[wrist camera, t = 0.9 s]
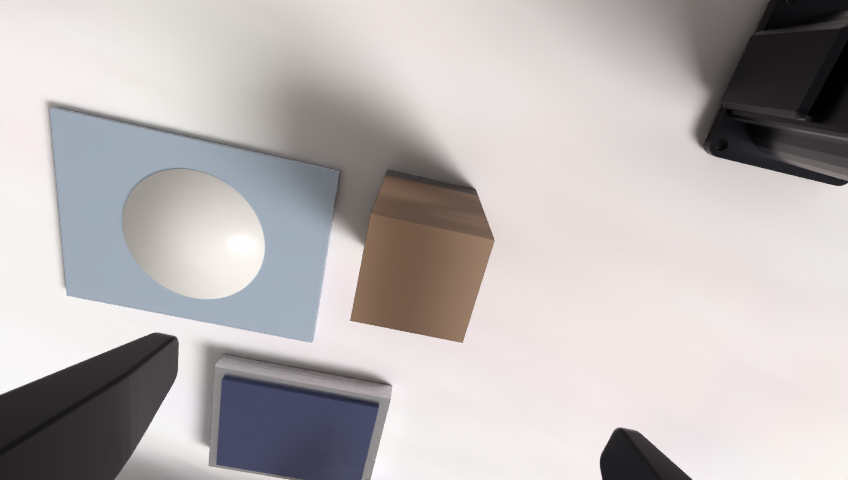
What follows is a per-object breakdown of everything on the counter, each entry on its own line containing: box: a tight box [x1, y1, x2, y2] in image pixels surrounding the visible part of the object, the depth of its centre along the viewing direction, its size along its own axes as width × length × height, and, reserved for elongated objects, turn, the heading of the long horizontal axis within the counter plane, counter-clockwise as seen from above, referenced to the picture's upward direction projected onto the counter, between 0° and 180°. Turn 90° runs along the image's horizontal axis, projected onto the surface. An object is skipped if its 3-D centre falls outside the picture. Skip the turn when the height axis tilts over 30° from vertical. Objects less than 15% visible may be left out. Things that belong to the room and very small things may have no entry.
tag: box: [50, 107, 340, 343], centre depth 20 cm, size 12×9×1 cm
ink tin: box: [209, 354, 392, 480], centre depth 24 cm, size 9×7×1 cm
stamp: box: [350, 170, 494, 343], centre depth 17 cm, size 4×4×6 cm
